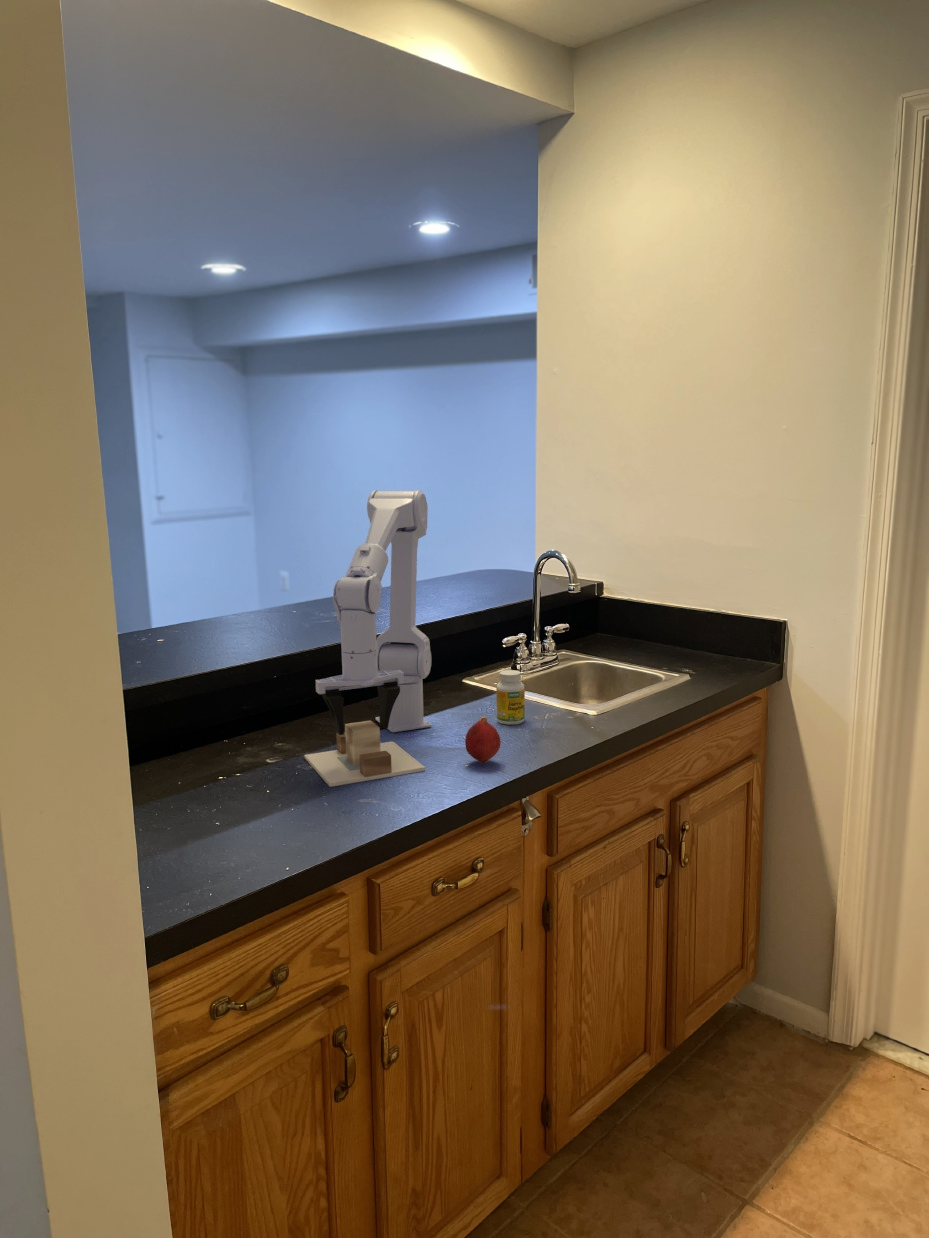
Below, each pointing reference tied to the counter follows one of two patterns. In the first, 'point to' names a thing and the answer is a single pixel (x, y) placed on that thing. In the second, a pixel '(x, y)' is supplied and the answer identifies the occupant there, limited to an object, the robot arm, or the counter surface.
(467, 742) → the onion
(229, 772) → the counter surface
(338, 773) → the board
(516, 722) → the supplement bottle
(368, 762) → the walnut blocks
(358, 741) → the maple block
